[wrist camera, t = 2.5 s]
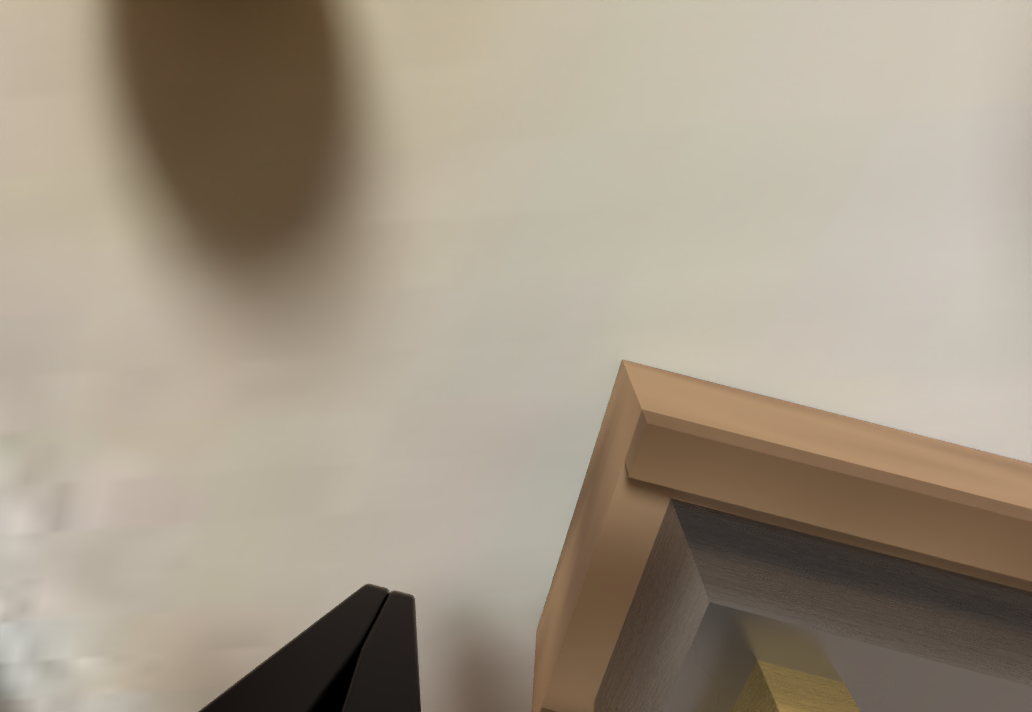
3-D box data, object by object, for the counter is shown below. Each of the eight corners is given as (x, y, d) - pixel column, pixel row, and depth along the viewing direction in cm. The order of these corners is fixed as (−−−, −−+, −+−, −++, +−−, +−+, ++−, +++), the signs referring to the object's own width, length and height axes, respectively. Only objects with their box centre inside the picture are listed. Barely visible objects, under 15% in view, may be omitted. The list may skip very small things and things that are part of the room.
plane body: (1079, 774, 13) (1257, 968, 10) (536, 630, 14) (528, 770, 10) (1279, 526, 11) (1598, 667, 8) (622, 359, 11) (647, 423, 8)
